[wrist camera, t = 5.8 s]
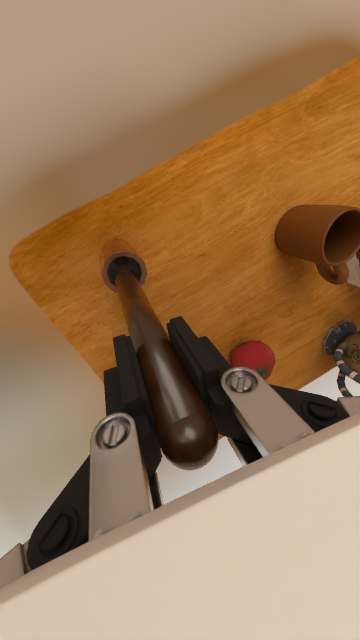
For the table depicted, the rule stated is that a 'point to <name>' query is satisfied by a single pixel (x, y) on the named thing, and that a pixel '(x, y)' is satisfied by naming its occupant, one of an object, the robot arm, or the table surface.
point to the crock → (120, 262)
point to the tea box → (354, 269)
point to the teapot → (344, 352)
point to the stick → (167, 383)
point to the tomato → (254, 357)
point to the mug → (321, 237)
